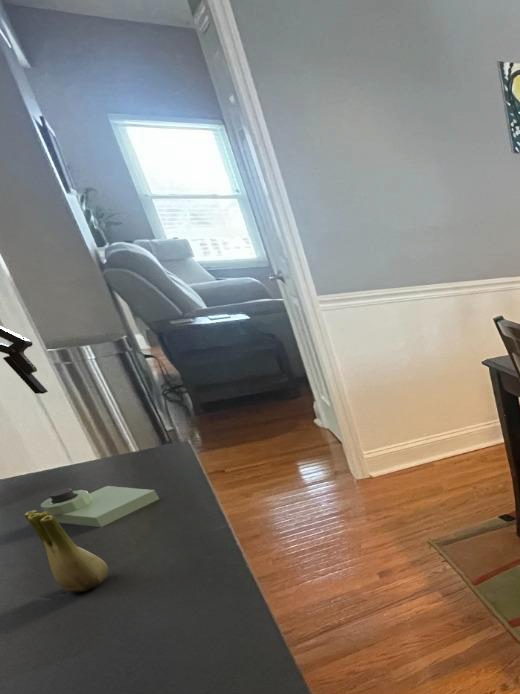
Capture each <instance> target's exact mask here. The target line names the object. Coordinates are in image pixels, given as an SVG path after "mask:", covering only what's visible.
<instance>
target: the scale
mask: <svg viewBox="0 0 520 694" xmlns="http://www.w3.org/2000/svg"><path fill="white" fill-rule="evenodd" d="M72 491H73V493H74V494H75V496H76V497H75V498H73V499H71V500H68V501H65V502H62V503H56V504H55V503H54V502H53V501H52V499H51V498H50V497H49V498H48V499H46V500H44V501H43V502H41V503H40V508H41V509H42V510H43V512H44V511H46V512H48V513H49V514H50V516H53V517H54V518H55V519H56V520H57V521H58V523H59V524H68V525H77V526H89V527H97V528H102V527H104V526H107V525H108V524H111V523H113V522H115V521H117V520H119V519H121V518H123V517H125V516H127V515H129V514H132V513H134V512H136V511H138V510H140V509H143V508H144V507H146V506H149V505H150V504H152V503H154V502H157V501H159V500H160V497H159V496H158V494H157V492H156V490H155V489H146V488H134V487H123V486H112V485H111V486H110V485H106V486H104V487H101V488H99V489H97V490H95V491H92V492H90V493H89V492H88V490H83V489H79V490H78V489H77V490H72Z"/></svg>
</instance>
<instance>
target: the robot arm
mask: <svg viewBox="0 0 520 694" xmlns="http://www.w3.org/2000/svg"><path fill="white" fill-rule="evenodd" d="M0 338H1V339H4V340H6V341H8V342H10V343H11V344H10V345H8V344H4V343H1V342H0V353H2V354H6V356H4V357H2V359H3V360H4V361H5V363H6V364H7V365H8V366H9V367H10V368H11V369H12V371H14V372H15V373H16V374H17V376H18V377H19V378H20V379H21V380H22V381H23V382H24V383H25V384H26V385H27V387H28V388H30V391H32V392H33V393H34V394H38V395H39V394H46V393H49V391H48V390H47V389H46V388H45V386H44V385H43V384H42V383H41V382H40V381H39V380H38V379H37V377H36V376H35V375H34V374H33V373H36V372H38V369H37V367H36V365H34V364H33V362H32V361H31V360H30V359H29V358H28V356H26V355H25V351H26V350H27V349H28V348H30V347H33V342H32V340H30V339H28V338H26V337H24V336H22V335H21V334H17V333H16V332H14V331H11V330H9V329H7V328H5V327H4V326H2V325H0Z"/></svg>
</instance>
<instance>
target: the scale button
mask: <svg viewBox="0 0 520 694" xmlns="http://www.w3.org/2000/svg"><path fill="white" fill-rule="evenodd" d="M73 491H74V490H72V488H62V489H58V490H55V491H53V492H51V493H50V494H49V495H48V497H49V499H50V498H51V499H52V501H53V502H54V503H55V504H56V503H62V502H65V501H68V500H71V499H73V498H75V497H76V496H75V494H74V493H73Z"/></svg>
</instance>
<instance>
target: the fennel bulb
mask: <svg viewBox="0 0 520 694" xmlns="http://www.w3.org/2000/svg"><path fill="white" fill-rule="evenodd" d="M24 518H25V519H26V520H27V522H28V523H29V525H31V527H32V528H33V530H34V532H35V533H36V535H37V536H38V537H39V539H40V540H41V542H42V543H43V546H44V548H45V552H46V556H47V558H48V559H47V560H48V564H49V566H50V569H51V572H52V575H53V577H54V580H55V581H56V583H57V584H58V586H60V587H61V588H62V589H63V591H64V592H65V593H69V594H70V593H71V594H80V593H84V592H87V591H89V590H93V589H95V588H97V587H99V586H100V585H102V584H103V582H104V581H106V579H107V578H108V576H109V574H110V568H109V566H108V564H107V563H106V562H105V561H104V560H103V559H102V558H100V557H99V556H97V555H95V554H94V553H92V552H90V551H88V550H86V549H84V548H83V547H80V546H77V545H76V544H75V543H74V542H73V540H72V539H71V537H70V536H69V535H68V534H67V532H66V531H65V529H64V528H63V527H62V525H61V523H58V521H57V520H56V519H55V518H54V517H53V516H50V514H49V513H48V512H46V511H44V510H43V511H42V512H38V510H36V509H35V510H29V511H27V512H25V513H24Z"/></svg>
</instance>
